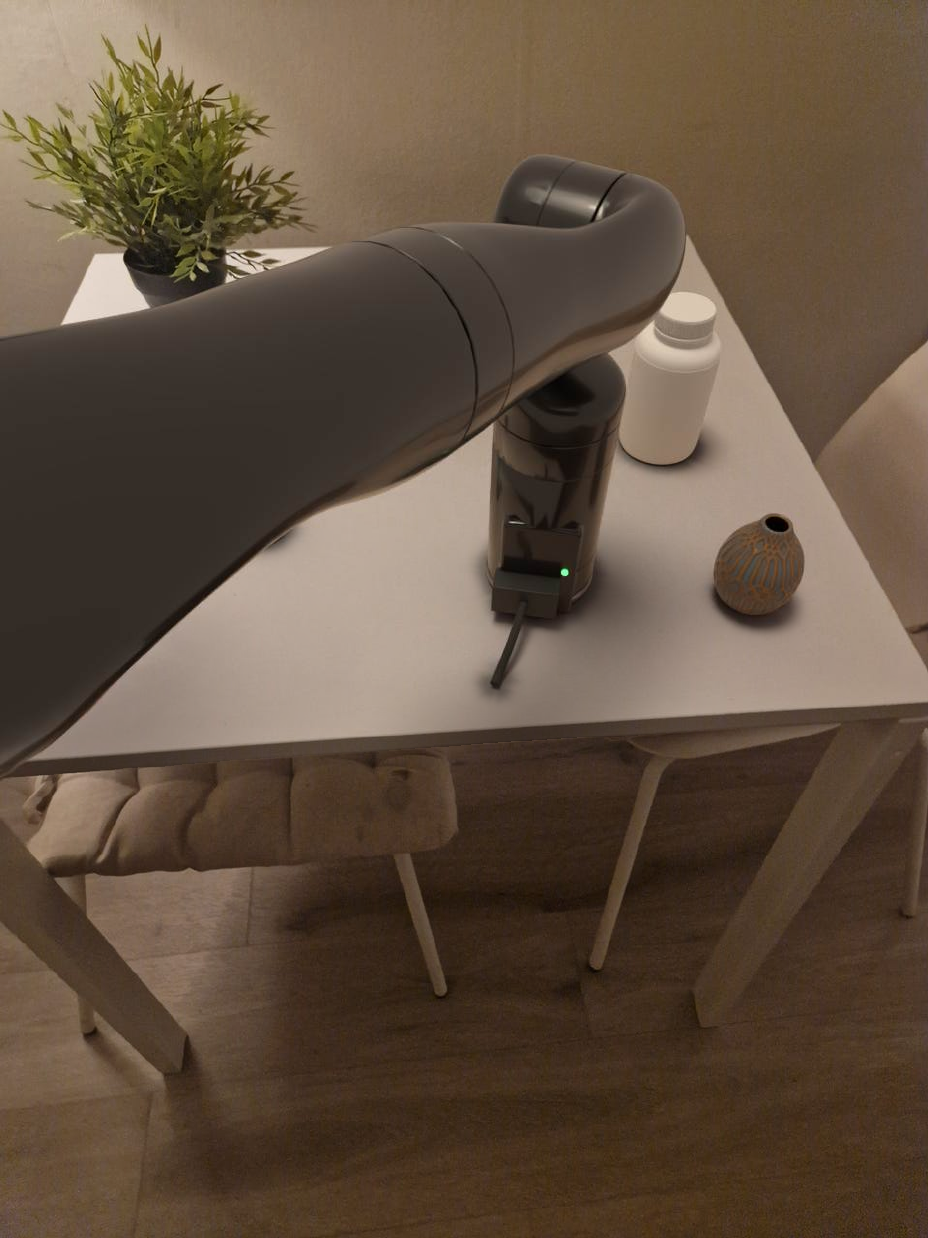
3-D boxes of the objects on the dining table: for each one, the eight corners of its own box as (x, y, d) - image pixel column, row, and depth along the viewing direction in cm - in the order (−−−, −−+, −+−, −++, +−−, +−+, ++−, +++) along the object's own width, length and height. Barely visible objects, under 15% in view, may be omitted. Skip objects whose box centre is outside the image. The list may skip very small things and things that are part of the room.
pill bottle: (604, 426, 84) (628, 290, 72) (673, 412, 85) (707, 277, 73) (637, 473, 79) (668, 336, 67) (709, 458, 80) (752, 322, 69)
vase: (728, 635, 66) (759, 562, 59) (691, 576, 70) (716, 501, 63) (802, 618, 67) (841, 545, 60) (762, 561, 71) (794, 486, 64)
